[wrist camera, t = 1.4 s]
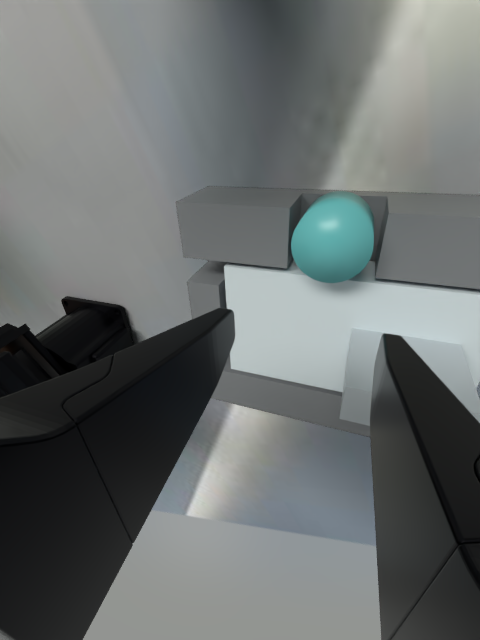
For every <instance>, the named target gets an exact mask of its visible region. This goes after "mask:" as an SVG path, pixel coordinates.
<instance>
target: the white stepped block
mask: <svg viewBox="0 0 480 640" xmlns="http://www.w3.org/2000/svg"><path fill="white" fill-rule="evenodd" d="M375 266H376V261H369V262H368V264H367V265H366V267H365V268H364V269H363V270H362V271H361V272H360V273H359V274H357V275H356V276H354V277H353V278H351V279H349V280H346V281H343V282H338V283H325V282H320V281H317V280H314V279H312V278H310V277H309V276H307V275H306V274H304V273H303V272H302V271H301V270H300V268H299V267H298V266H297V264H296V263H295V260H294V258H293V259H292V260H291V262H290V264H289V266H288V268H278V267H269V266H259V265H250V264H241V263H231V262H228V263H227V264H226V265H225V266H224V276H225V290H226V304H227V309H231V310H233V312H234V319H235V340H234V343H233V346H232V349H231V351H230V362H231V369H234V370H239V371H244V372H249V373H253V374H258V375H263V376H268V377H272V378H277V379H282V380H286V381H291V382H296V383H301V384H305V385H310V386H315V387H319V388H324V389H329V390H334V391H338V392H343V393H342V401H341V409H340V417H339V419H342V420H347V421H351V422H355V423H359V424H364V425H368V426H370V409H371V398H372V386H373V375H374V365H375V360H376V355H377V351H378V347H379V343H380V339H381V336H382V335H383V334H384V333H387V334H394V335H400V336H401V337H403V339H404V340H405V341H406V342H407V343H408V344H409V345H410V346H411V347H412V348H413V350H414V351H415V352H416V353H417V354H418V355H419V356H420V357H421V358H422V360H423V361H424V362H425V363H426V364H427V365H428V366H429V367H430V368H431V370H432V371H433V372H434V373H435V374H436V375H437V376H438V377H439V378H440V379H441V381H442V382H443V383H444V384H445V385H446V386H447V387H448V388H449V389H450V391H451V392H452V393H453V394H454V395H455V396H456V397H457V398H458V399H459V400H460V402H461V403H462V404H463V405H464V406H465V407H466V408H467V409H468V410H469V412H470V413H471V414H472V415H473V416H474V417H475V418H476V419H477V420H478V421H479V423H480V399H479V396H478V393H477V390H476V388H477V386H478V384H479V382H480V289H474V288H464V287H455V286H446V285H436V284H427V283H418V282H409V281H399V280H390V279H381V278H375Z"/></svg>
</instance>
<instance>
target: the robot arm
mask: <svg viewBox="0 0 480 640" xmlns="http://www.w3.org/2000/svg"><path fill="white" fill-rule="evenodd" d="M62 304H63V307H64V310H65V312H66V315H65V316H63V317H62V318H61V319H59V320H58V321H56V322H55V323H53V324H52V325H50V326H49V327H47V328H46V329H44V330H43V331H41V332H40V333H39V334H37V335H36V336H34V335H33V334H32V332H31V331H30V328H29V327H28V326H27V325H26V324H24V325H22V326H21V327H19V328H17V327H16V326H13V325H10V324H8V323H7V324H5V325H4V326H2V327H0V640H83V638H84V636H85V634H86V632H87V630H88V628H89V626H90V625H91V623H92V621H93V619H94V617H95V615H96V613H97V612H98V610H99V608H100V606H101V604H102V602H103V600H104V598H105V596H106V595H107V593H108V591H109V589H110V587H111V585H112V583H113V581H114V579H115V578H116V576H117V574H118V572H119V570H120V568H121V566H122V564H123V563H124V561H125V559H126V557H127V555H128V553H129V551H130V549H131V548H132V543H134V541H135V540H136V538H137V536H138V534H139V532H140V530H141V528H142V526H143V525H144V523H145V521H146V519H147V517H148V515H149V513H150V511H151V509H152V508H153V506H154V504H155V502H156V500H157V498H158V496H159V494H160V493H161V491H162V489H163V487H164V485H165V483H166V481H167V479H168V477H169V476H170V474H171V472H172V470H173V468H174V466H175V464H176V462H177V461H178V459H179V457H180V455H181V453H182V451H183V449H184V447H185V446H186V444H187V442H188V440H189V438H190V436H191V434H192V432H193V430H194V429H195V427H196V425H197V423H198V421H199V419H200V417H201V415H202V414H203V412H204V410H205V408H206V406H207V404H208V402H209V400H210V398H211V397H212V395H213V393H214V391H215V389H216V387H217V385H218V382H219V380H220V377H221V375H222V372H223V370H224V367H225V364H226V362H227V359H228V357H229V354H230V351H231V349H232V346H233V343H234V340H235V319H234V312H233V310H231V309H225V308H217V309H215V310H213V311H210V312H208V313H206V314H203V315H201V316H199V317H197V318H194V319H192V320H190V321H188V322H185V323H183V324H181V325H178V326H176V327H174V328H172V329H169V330H167V331H165V332H162V333H160V334H158V335H156V336H153V337H151V338H149V339H147V340H144V341H142V342H140V343H137V344H135V345H134V344H133V340H132V336H131V333H130V329H129V325H128V322H127V318H126V314H125V311H124V309H123V307H121V306H120V305H116V304H110V303H104V302H98V301H92V300H86V299H80V298H74V297H68V296H67V297H65V298H63V299H62ZM370 438H371V456H372V474H373V493H374V511H375V530H376V548H377V566H378V585H379V602H380V621H381V640H480V423H479V421H478V420H477V419H476V418H475V417H474V416H473V415H472V414H471V413H470V412H469V410H468V409H467V408H466V407H465V406H464V405H463V404H462V403H461V402H460V400H459V399H458V398H457V397H456V396H455V395H454V394H453V393H452V392H451V391H450V389H449V388H448V387H447V386H446V385H445V384H444V383H443V382H442V381H441V379H440V378H439V377H438V376H437V375H436V374H435V373H434V372H433V371H432V370H431V368H430V367H429V366H428V365H427V364H426V363H425V362H424V361H423V360H422V358H421V357H420V356H419V355H418V354H417V353H416V352H415V351H414V350H413V348H412V347H411V346H410V345H409V344H408V343H407V342H406V341H405V340H404V339H403V337H401V336H400V335H394V334H387V333H384V334H383V335H382V336H381V339H380V343H379V347H378V351H377V355H376V360H375V365H374V375H373V386H372V398H371V409H370Z"/></svg>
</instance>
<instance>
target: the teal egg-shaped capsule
mask: <svg viewBox="0 0 480 640" xmlns="http://www.w3.org/2000/svg"><path fill="white" fill-rule="evenodd" d="M373 246H374V216H373V213H372V210H371V208H370V206H369V205H368V204H367V202H366V201H365V200H364V199H362V198H361V197H360V196H358V195H356V194H354V193H351V192H347V191H334V192H330V193H327V194H324V195H322V196H321V197H319V198H318V199H316V200H315V201H314V202H313V203H312V204H311V205H310V207H309V208H308V210H307V211H306V213H305V214H304V216H303V217H302V219H301V220H300V222H299V223H298V225H297V226H296V228H295V230H294V233H293V236H292V241H291V250H292V255H293V258H294V260H295V263H296V264H297V266H298V267H299V268H300V270H301V271H302V272H303V273H304V274H306V275H307V276H309V277H310V278H312V279H314V280H317V281H320V282H325V283H338V282H343V281H346V280H349V279H351V278H353V277H354V276H356V275H357V274H359V273H360V272H361V271H362V270H363V269H364V268H365V267H366V265H367V264H368V262H369V260H370V258H371V256H372V252H373Z"/></svg>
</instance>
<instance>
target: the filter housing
mask: <svg viewBox="0 0 480 640" xmlns="http://www.w3.org/2000/svg"><path fill="white" fill-rule="evenodd" d="M334 191H339V190H308V189H278V188H248V187H217V186H207V187H205V188H203V189H201V190H199V191H197V192H195V193H193V194H191V195H189V196H187V197H185V198H183V199H181V200H179V201H177V202H176V207H177V214H178V221H179V228H180V235H181V243H182V250H183V257H185V258H194V259H203V260H208V262H207V263H206V264H205V265H204V266H203V267H202V268H201V269H200V270H199V271H198V272H196V273H195V274H194V275H193V276H192V277H191V278H190V279H189V280H188V281H187V285H188V292H189V300H190V307H191V314H192V319H194V318H197V317H199V316H201V315H203V314H206V313H208V312H210V311H213V310H215V309H217V308H225V309H227V304H226V290H225V276H224V266H225V265H226V264H227V263H228V262H231V263H241V264H250V265H259V266H269V267H278V268H288V266H289V264H290V262H291V260H292V259H293V255H292V250H291V241H292V236H293V233H294V230H295V228H296V226H297V225H298V223H299V222H300V220H301V219H302V217H303V216H304V214H305V213H306V211H307V210H308V208H309V207H310V205H311V204H312V203H313V202H314V201H315V200H316V199H318V198H319V197H321V196H322V195H324V194H327V193H330V192H334ZM347 192H351V193H354V194H356V195H358V196H360V197H361V198H362V199H364V200H365V201H366V202H367V204H368V205H369V206H370V208H371V210H372V213H373V216H374V246H373V252H372V256H371V258H370V260H369V261H376V266H375V278H381V279H390V280H399V281H409V282H418V283H427V284H436V285H446V286H455V287H464V288H474V289H480V195H460V194H429V193H399V192H369V191H347ZM342 393H343V392H338V391H334V390H329V389H324V388H319V387H315V386H310V385H305V384H301V383H296V382H291V381H286V380H282V379H277V378H272V377H268V376H263V375H258V374H253V373H249V372H244V371H239V370H234V369H231V362H230V354H229V357H228V359H227V362H226V364H225V367H224V370H223V372H222V375H221V377H220V380H219V382H218V385H217V387H216V389H215V391H214V393H213V395H212V397H211V398H212V399H216V400H220V401H225V402H229V403H233V404H237V405H241V406H245V407H249V408H253V409H257V410H261V411H265V412H269V413H273V414H277V415H282V416H286V417H290V418H294V419H298V420H302V421H306V422H310V423H314V424H318V425H322V426H326V427H330V428H334V429H339V430H343V431H347V432H351V433H355V434H359V435H363V436H367V437H370V426H368V425H364V424H359V423H355V422H351V421H347V420H342V419H339V417H340V409H341V401H342Z"/></svg>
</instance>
